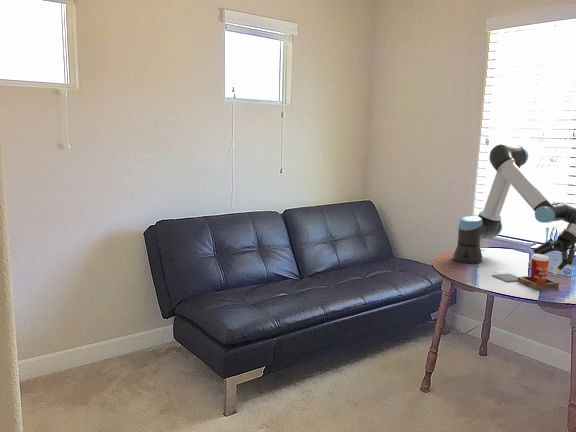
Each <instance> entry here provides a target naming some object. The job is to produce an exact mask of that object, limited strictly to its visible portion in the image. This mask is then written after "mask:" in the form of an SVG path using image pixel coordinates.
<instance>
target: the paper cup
mask: <svg viewBox="0 0 576 432" xmlns="http://www.w3.org/2000/svg"><path fill="white" fill-rule="evenodd" d="M530 258H532V267H530V268H531V270H530V271H531V272H530V276H531V282H534V283H536V284H545V280H546V278H547V274H548V269H549V268H548V267H549V264H550V256H549V255H547V254H543V255H542V254H535V253H534V254H533V253H532V256H531V257H530Z"/></svg>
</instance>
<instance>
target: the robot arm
mask: <svg viewBox="0 0 576 432" xmlns="http://www.w3.org/2000/svg"><path fill="white" fill-rule="evenodd" d="M488 159H489V162H490V165H491V166H492V168H493V169H494V170H495V171H496V173H495V176H494V179H493V182H492V185H491V188H490V191H489V193H488V196H487V199H486V202H485V204H484V207H483V210H481V211H480V212H479V213H478V216H475V215H472V216H470V215H469V216H463V217H461V218H460V219H459V223H458V232H457V233H458V236H457V244H456V246H455V250H454V252H453V255H452V259H453V260H454V261H456V262H458V261H459V263H463V264H473V265H474V264H481V263H483V254H482V250H481V249H482V248H481V244H482V243H481V242H482V240H489V239H492V238H496V237H497V236H499V235H500V234H501V232H502V230H503V224H502V217H501V212H502V210H503V207H504V204H505V202H506V199H507V196H508V193H509V190H510V187H511V186H512V187H513V189H515V191H516V192H517V193H518V195H520V196H521V198H522V199H523V200H524V201H525V202H526V203H527V205H529V207H531V209H532V211H534V218H535V220H536V221H538V222H539V223H544V224H545V223H547V224H548V223H551V222H559V221H563V222H565V223H568V224H566V226H565V227H564V229H563V231H561V232H560V233H559V234H558V236H557V238H556V240H554V239H553V238H549V239H548V240H547V241H546V242H544V243H543V244H541V245H540V246H539V245H538V246H537V247H536V248H534V249H533V250H532V251H533V253H534V254H542V255H547V254H549V253H551V252H559V253H561V260H560V261H558V263H557V264H556V265H555V266H554V268H553V269H552V270H551V271H550V272H551V273H552V275H553V276H557V275H558V273H559V272H560V271H562V270H563V269H564V268H565V267H566V266H567V265H569V266H572V265H573V262H574V257H575V253H576V208H575V207H573V206H571V205H569V204H566V203H564V202H560V201H557V200H555V201H553V202H549V200H548V199H547V198H546V197H545V196H544V194H542V192H541V191H540V190H539V188H537V187H536V186H535V184H533V182H532V181H531V180H530V179H529V178H528V177H527V176H526V175H525V173H524V172H523V171H522V169H521V166H524V165H525V164H526V163H527V162H528V159H529V152H528V149H527V148H526V147H525V146H524V145H523V144H520V143H514V142H513V143H499V144H496V145H494V146H493V147H492V148H491V149H490V151H489V155H488ZM530 258H531V257H530ZM527 265H528V266H529V267H530V268H531V267H532V258H531V259H530V260H529V261H528V262H527Z"/></svg>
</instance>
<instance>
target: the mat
mask: <svg viewBox="0 0 576 432" xmlns="http://www.w3.org/2000/svg"><path fill="white" fill-rule="evenodd" d="M491 276H492V277H494V278H496V279H498V280H500V281H502V282H505V283H513V282H517V281H518V277H519V276H517V275H514V274H512V273H499V274H497V273H496V274H492V275H491Z"/></svg>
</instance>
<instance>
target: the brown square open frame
mask: <svg viewBox="0 0 576 432" xmlns="http://www.w3.org/2000/svg"><path fill="white" fill-rule="evenodd" d="M517 277H518V281H516V282H517V283H518V284H521V285H523V286H526V287H529V288H531V289H533V290H535V291H544V290H545V291H546V290H553V289H554V290H555V289H559V286H560V282H558V281H554V280H552V279H549V278H547V277H546V280H545V284H536V283H534V282H531V275H525V276H517Z"/></svg>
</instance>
